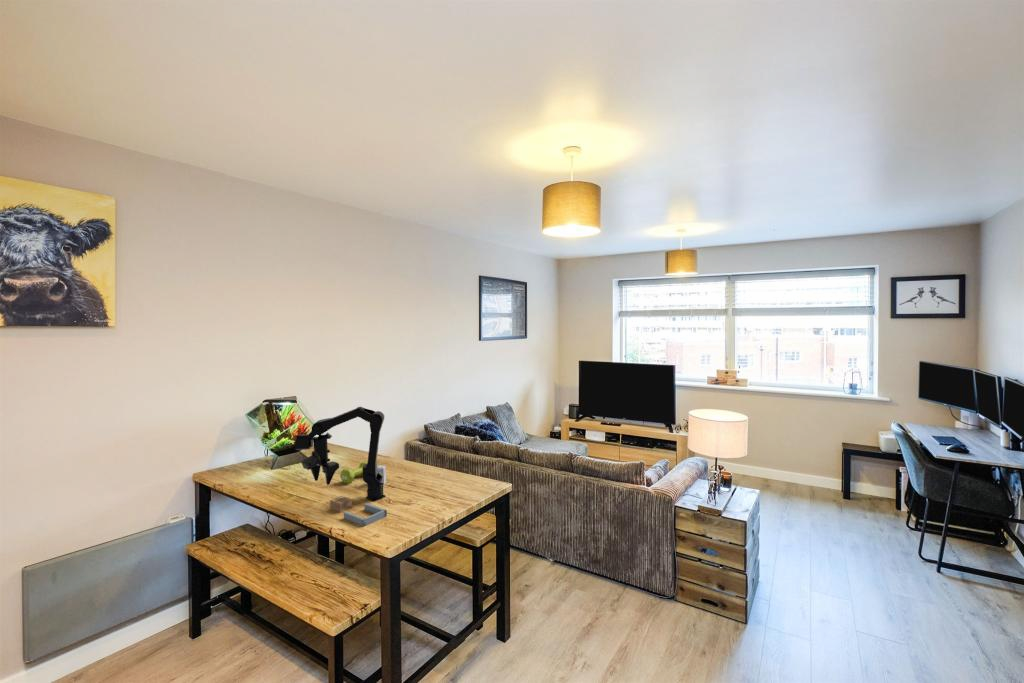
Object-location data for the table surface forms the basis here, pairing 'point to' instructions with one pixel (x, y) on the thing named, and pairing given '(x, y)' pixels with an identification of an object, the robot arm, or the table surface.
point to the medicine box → (382, 473)
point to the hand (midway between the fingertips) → (322, 482)
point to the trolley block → (341, 504)
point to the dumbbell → (351, 473)
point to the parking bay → (365, 521)
